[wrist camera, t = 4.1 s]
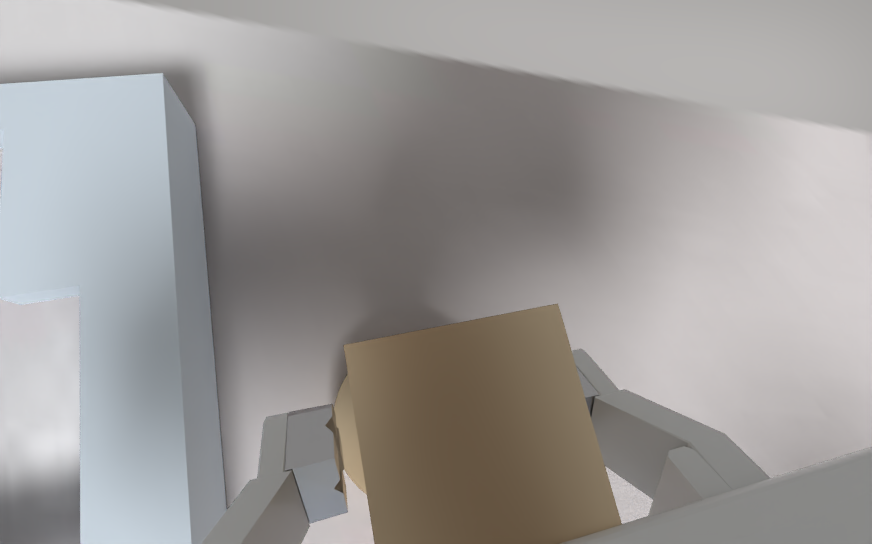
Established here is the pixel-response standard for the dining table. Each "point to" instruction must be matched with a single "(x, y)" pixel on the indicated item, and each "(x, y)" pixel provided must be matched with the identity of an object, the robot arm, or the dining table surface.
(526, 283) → the dining table surface
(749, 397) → the dining table surface
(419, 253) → the dining table surface
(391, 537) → the beech peg
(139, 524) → the keyhole plate
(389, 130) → the dining table surface
